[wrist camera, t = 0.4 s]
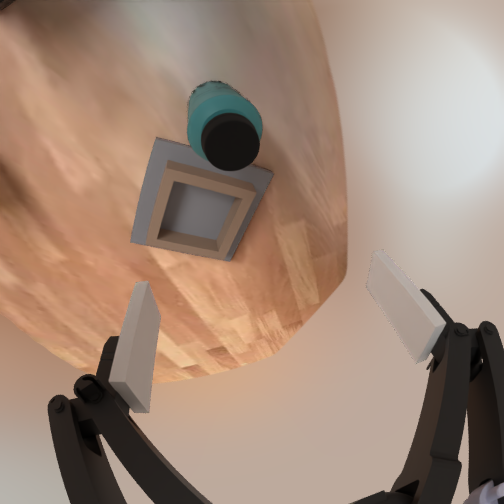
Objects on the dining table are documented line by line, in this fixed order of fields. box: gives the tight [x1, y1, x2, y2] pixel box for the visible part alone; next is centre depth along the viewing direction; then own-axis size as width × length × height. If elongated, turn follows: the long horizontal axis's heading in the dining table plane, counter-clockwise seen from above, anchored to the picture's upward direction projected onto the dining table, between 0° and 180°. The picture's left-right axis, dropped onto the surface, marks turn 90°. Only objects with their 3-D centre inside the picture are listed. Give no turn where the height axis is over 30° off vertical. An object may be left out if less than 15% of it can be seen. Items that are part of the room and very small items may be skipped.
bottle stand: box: [130, 137, 274, 262], centre depth 41 cm, size 18×18×4 cm
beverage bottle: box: [187, 80, 262, 171], centre depth 25 cm, size 6×7×20 cm
